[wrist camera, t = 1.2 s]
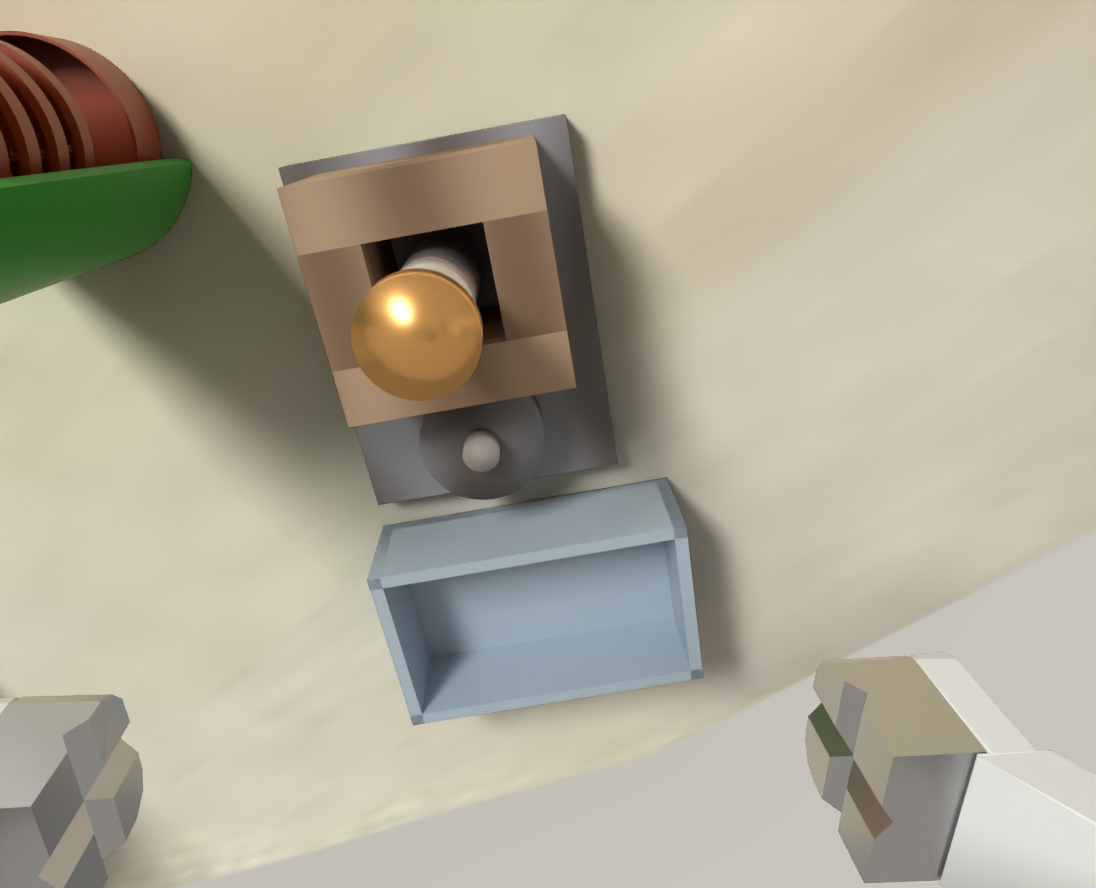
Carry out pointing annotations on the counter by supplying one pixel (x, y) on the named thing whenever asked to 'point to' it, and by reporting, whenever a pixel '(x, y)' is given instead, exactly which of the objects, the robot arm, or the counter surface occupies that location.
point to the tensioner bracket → (503, 302)
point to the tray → (538, 601)
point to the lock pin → (423, 320)
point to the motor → (76, 165)
